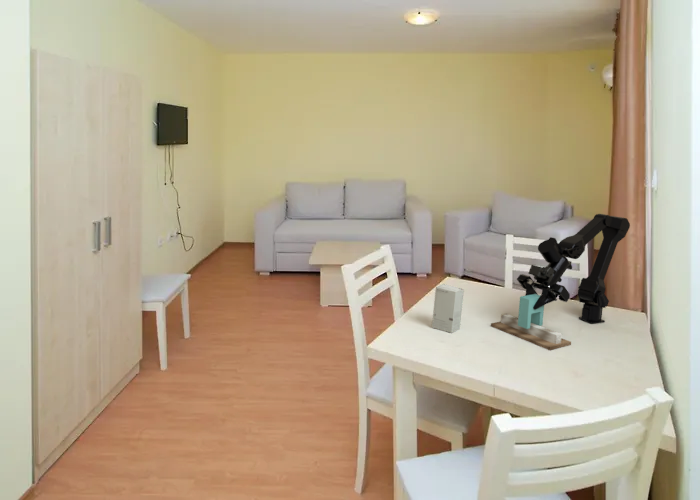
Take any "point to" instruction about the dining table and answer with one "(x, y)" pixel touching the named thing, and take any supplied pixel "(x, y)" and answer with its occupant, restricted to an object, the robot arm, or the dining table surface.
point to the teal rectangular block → (530, 311)
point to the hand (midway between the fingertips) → (528, 307)
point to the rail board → (530, 337)
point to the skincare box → (447, 308)
